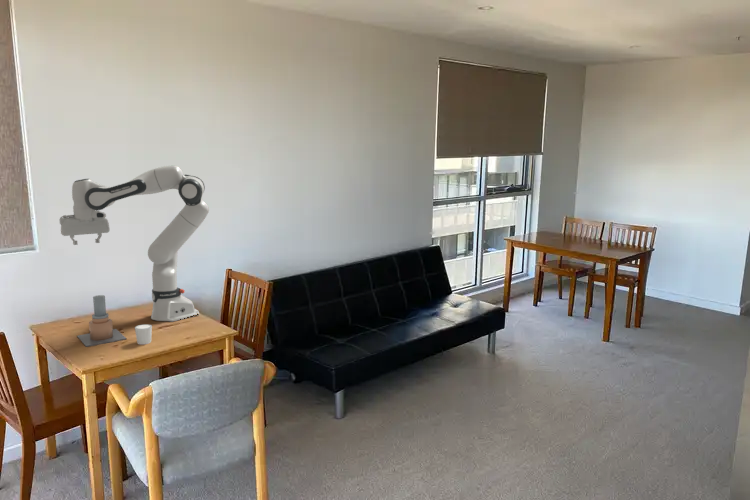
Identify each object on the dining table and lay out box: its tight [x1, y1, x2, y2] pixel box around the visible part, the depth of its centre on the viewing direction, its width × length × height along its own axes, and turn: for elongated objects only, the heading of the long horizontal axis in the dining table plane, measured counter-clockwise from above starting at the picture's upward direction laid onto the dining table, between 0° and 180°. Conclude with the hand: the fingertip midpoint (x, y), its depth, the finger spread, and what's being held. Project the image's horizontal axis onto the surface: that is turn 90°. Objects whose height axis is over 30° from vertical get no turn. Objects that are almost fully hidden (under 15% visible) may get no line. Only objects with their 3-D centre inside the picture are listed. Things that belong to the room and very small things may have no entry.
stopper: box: [91, 294, 110, 319], centre depth 245 cm, size 6×6×9 cm
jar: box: [76, 316, 127, 348], centre depth 247 cm, size 16×16×10 cm
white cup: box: [134, 324, 153, 346], centre depth 243 cm, size 7×7×7 cm
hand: (86, 243), depth 265 cm, fingers open, 8 cm apart
